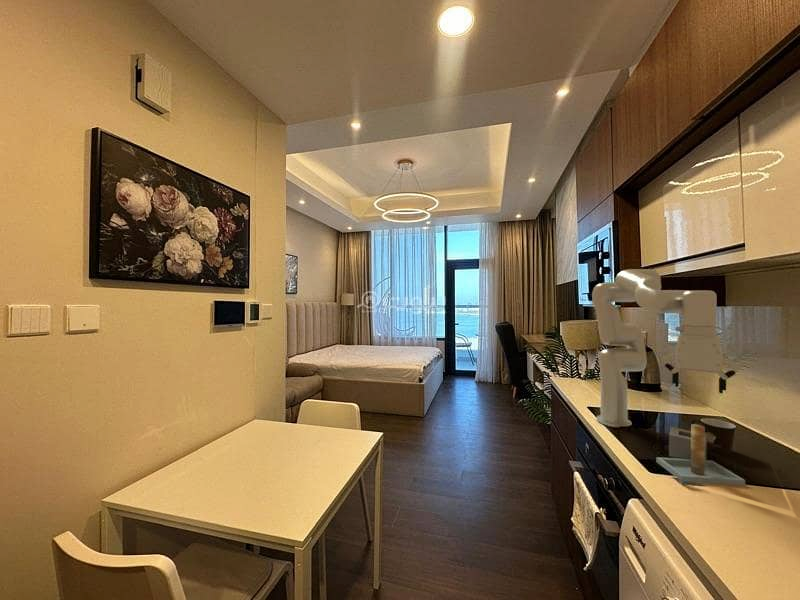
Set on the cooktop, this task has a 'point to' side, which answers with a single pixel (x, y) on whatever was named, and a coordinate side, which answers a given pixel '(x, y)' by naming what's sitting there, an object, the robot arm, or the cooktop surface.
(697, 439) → the brown upright block
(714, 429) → the coffee mug
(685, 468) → the slate tray
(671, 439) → the grey notched box
